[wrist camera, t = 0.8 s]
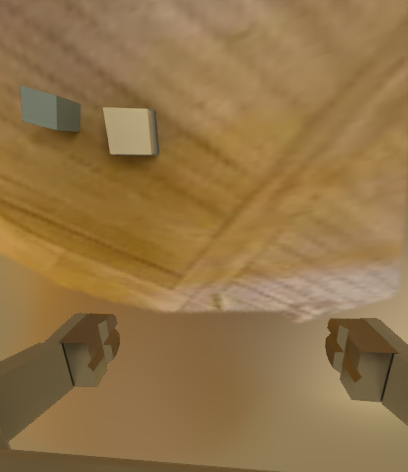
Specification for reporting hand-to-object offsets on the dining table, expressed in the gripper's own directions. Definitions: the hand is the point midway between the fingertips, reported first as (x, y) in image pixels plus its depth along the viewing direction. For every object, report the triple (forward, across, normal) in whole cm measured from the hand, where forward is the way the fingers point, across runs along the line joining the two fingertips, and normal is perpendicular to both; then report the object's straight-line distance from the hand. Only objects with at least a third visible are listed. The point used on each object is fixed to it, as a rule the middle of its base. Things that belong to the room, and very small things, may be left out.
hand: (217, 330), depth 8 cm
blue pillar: (+37, +30, -19) cm, 51 cm away
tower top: (+36, +16, -14) cm, 42 cm away
